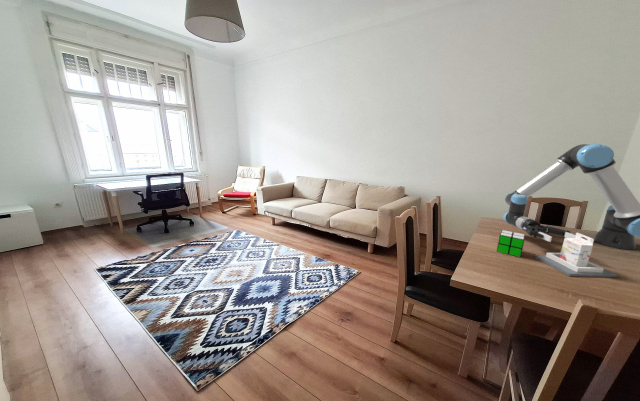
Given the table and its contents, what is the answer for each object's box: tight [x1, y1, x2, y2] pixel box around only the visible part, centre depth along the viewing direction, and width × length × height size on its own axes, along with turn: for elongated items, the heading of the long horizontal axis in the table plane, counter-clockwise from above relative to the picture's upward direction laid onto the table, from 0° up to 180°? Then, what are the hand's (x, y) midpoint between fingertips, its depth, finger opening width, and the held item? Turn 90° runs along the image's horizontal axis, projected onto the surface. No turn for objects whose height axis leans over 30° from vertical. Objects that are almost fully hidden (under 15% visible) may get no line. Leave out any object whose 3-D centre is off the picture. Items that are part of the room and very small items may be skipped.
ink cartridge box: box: [559, 232, 595, 267], centre depth 107 cm, size 9×5×15 cm, turn 175°
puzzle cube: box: [496, 229, 526, 258], centre depth 123 cm, size 10×10×10 cm
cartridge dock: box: [533, 252, 618, 278], centre depth 109 cm, size 20×18×3 cm
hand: (564, 239), depth 112 cm, fingers open, 13 cm apart
